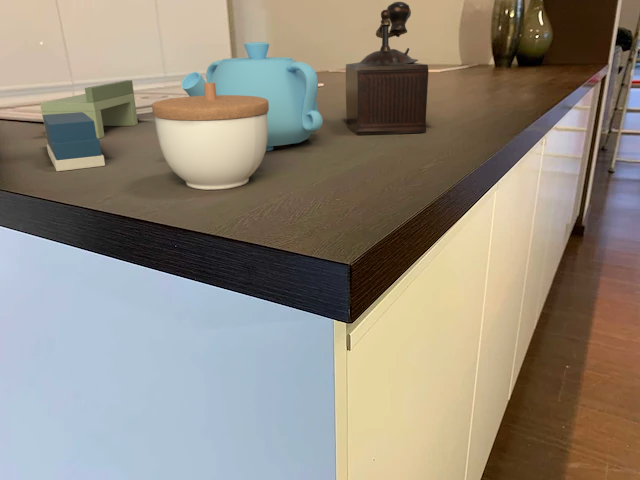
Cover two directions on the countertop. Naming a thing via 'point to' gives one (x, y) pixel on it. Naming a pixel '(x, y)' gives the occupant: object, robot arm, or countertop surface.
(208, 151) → the white bowl with lid
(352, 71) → the manual coffee grinder
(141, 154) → the countertop surface
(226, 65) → the teapot
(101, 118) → the shoe shelf
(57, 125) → the blue block cream base
